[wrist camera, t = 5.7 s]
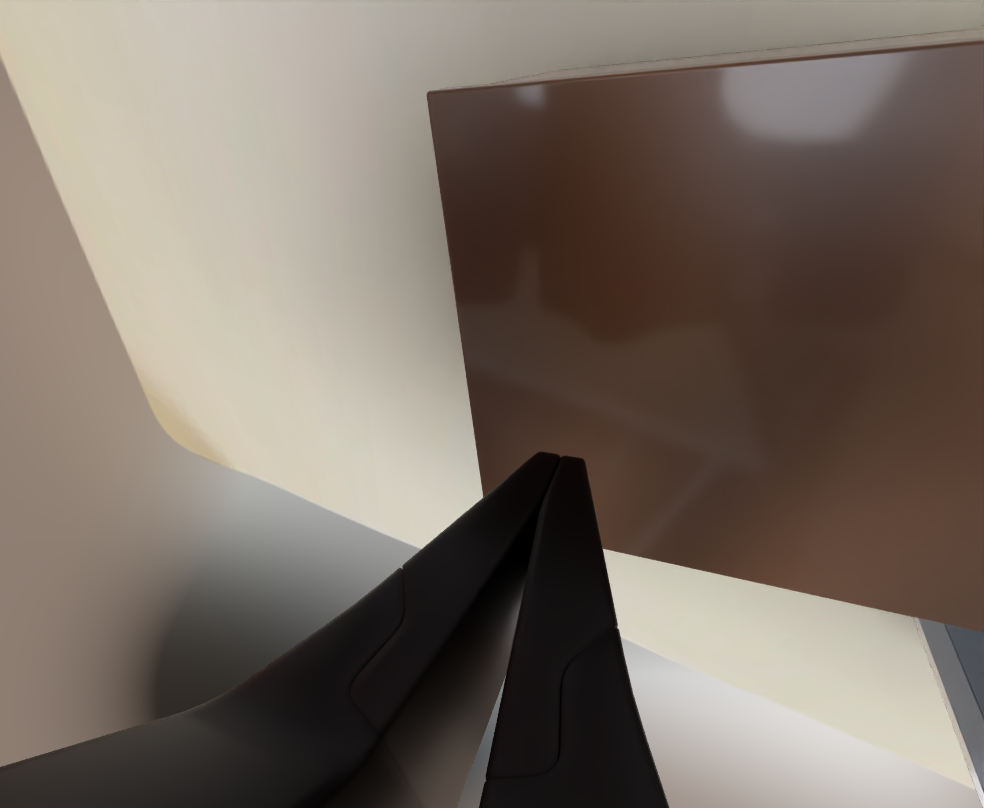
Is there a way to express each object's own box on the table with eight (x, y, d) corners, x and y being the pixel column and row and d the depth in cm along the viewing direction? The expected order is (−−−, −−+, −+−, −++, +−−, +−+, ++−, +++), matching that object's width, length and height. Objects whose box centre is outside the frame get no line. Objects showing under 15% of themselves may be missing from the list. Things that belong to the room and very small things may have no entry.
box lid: (494, 505, 16) (486, 523, 15) (442, 88, 9) (424, 91, 8) (986, 607, 12) (1002, 637, 11) (1580, -19, 5) (1708, -29, 4)
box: (559, 405, 20) (518, 506, 16) (557, 70, 13) (485, 84, 9) (909, 452, 16) (985, 605, 12) (1165, 9, 9) (1575, -19, 5)
